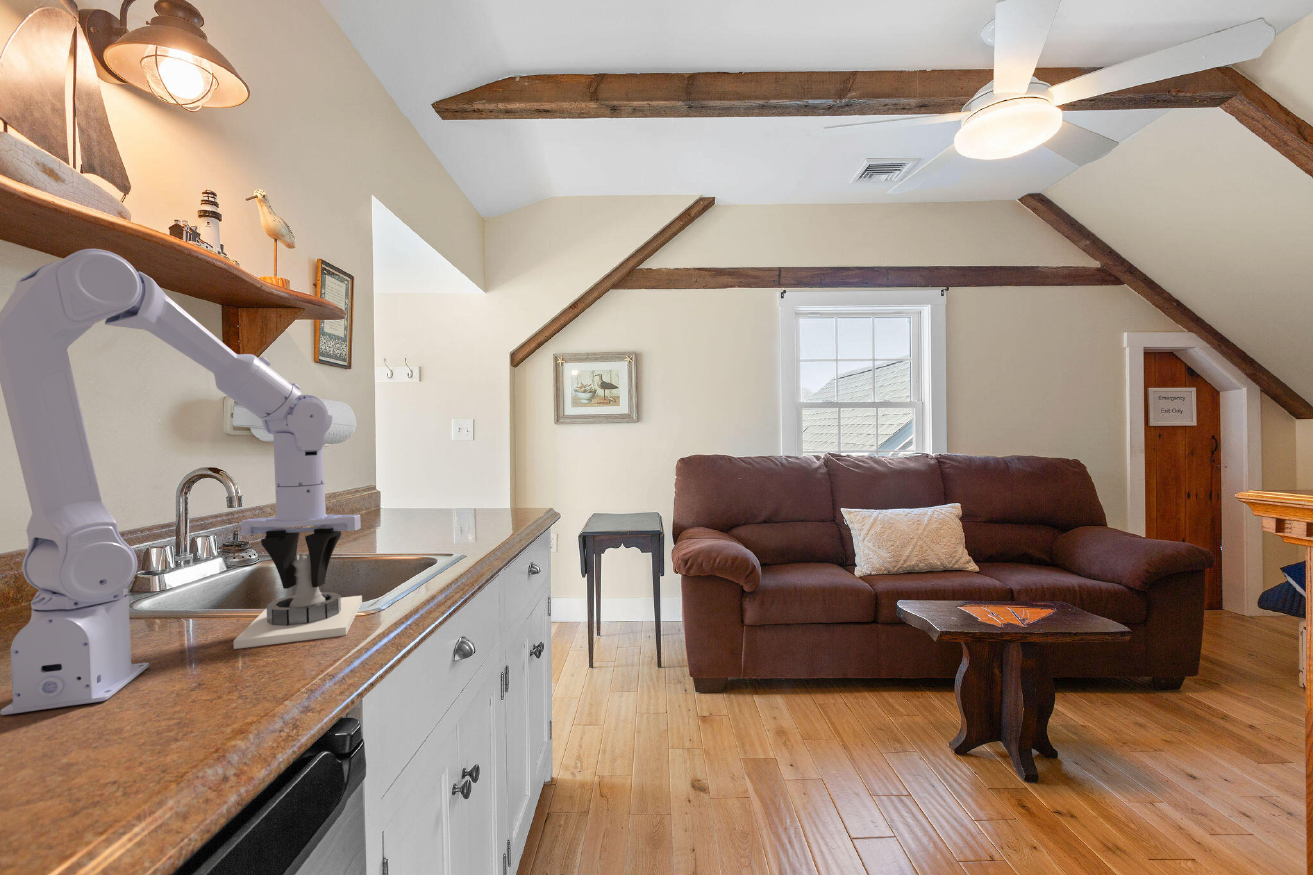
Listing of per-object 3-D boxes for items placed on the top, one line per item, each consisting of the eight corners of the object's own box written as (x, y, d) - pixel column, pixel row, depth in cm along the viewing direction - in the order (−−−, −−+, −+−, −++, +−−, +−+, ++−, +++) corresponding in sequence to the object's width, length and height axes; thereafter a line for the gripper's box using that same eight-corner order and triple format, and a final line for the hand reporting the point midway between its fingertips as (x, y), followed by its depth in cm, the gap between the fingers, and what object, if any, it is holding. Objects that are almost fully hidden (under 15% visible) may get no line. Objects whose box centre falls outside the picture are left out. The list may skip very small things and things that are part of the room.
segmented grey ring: (334, 620, 80) (334, 604, 80) (260, 628, 77) (259, 613, 77) (344, 603, 88) (344, 589, 88) (277, 610, 85) (276, 596, 85)
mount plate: (345, 635, 77) (345, 627, 77) (233, 649, 73) (233, 640, 73) (362, 602, 92) (361, 595, 92) (269, 612, 88) (269, 605, 88)
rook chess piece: (334, 608, 85) (331, 551, 85) (312, 618, 81) (309, 558, 80) (304, 608, 86) (302, 551, 85) (281, 618, 81) (278, 558, 81)
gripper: (368, 480, 87) (371, 576, 87) (260, 484, 86) (264, 581, 86) (346, 485, 80) (350, 589, 80) (229, 489, 79) (233, 594, 79)
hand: (304, 586), depth 82 cm, fingers closed on rook chess piece, 3 cm apart
